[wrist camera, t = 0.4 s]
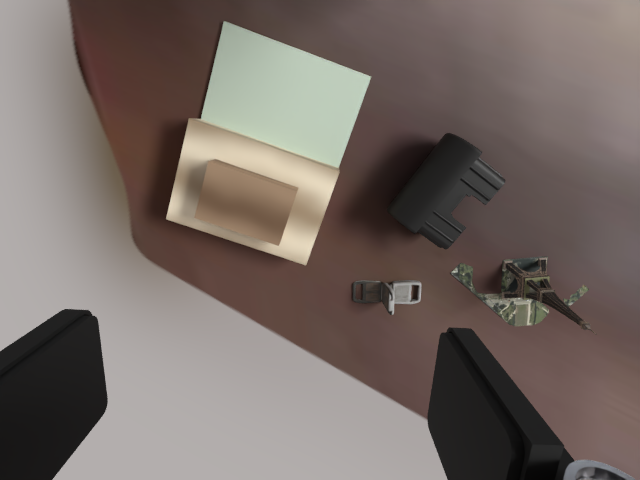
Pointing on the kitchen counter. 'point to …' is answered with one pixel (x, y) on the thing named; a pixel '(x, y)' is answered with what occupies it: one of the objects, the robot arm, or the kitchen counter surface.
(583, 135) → the kitchen counter surface
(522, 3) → the kitchen counter surface
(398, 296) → the strap clip
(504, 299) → the eiffel tower figurine
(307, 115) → the mat
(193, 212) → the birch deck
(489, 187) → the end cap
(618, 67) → the kitchen counter surface
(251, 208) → the brown box
